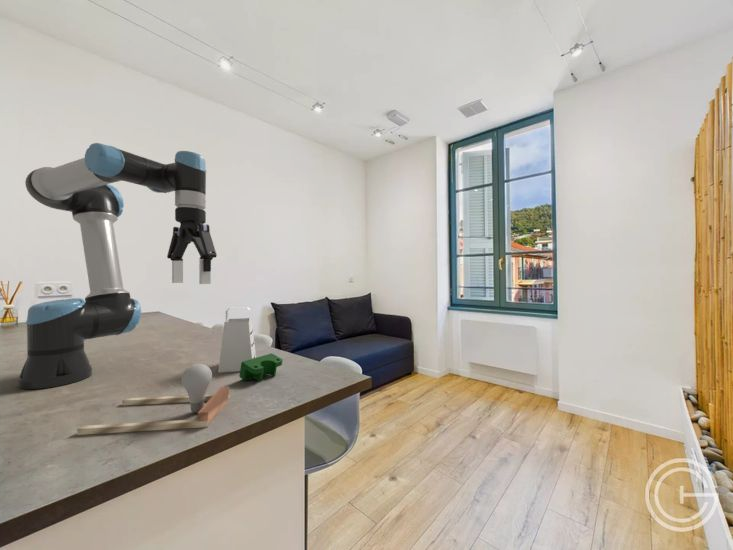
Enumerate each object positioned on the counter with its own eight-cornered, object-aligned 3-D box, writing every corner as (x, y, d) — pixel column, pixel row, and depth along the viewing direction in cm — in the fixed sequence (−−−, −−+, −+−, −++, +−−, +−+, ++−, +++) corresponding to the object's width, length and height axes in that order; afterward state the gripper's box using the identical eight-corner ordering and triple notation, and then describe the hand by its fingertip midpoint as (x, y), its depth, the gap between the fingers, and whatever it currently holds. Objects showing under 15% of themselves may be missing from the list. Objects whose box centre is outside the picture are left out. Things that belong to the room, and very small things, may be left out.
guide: (77, 435, 59) (77, 419, 59) (125, 403, 73) (125, 391, 73) (207, 427, 62) (207, 412, 62) (229, 398, 77) (229, 386, 77)
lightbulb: (218, 408, 71) (218, 361, 71) (195, 420, 65) (195, 369, 65) (198, 404, 73) (198, 359, 73) (174, 416, 67) (174, 366, 67)
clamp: (255, 396, 88) (249, 374, 84) (242, 387, 91) (236, 365, 87) (286, 371, 97) (282, 349, 93) (273, 364, 100) (269, 342, 96)
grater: (225, 362, 106) (225, 306, 106) (256, 360, 109) (256, 305, 109) (218, 372, 96) (218, 309, 96) (253, 370, 99) (253, 309, 99)
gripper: (230, 206, 83) (230, 283, 83) (180, 214, 95) (180, 282, 96) (204, 201, 76) (204, 284, 77) (153, 210, 89) (153, 282, 89)
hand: (190, 283), depth 86 cm, fingers open, 13 cm apart
